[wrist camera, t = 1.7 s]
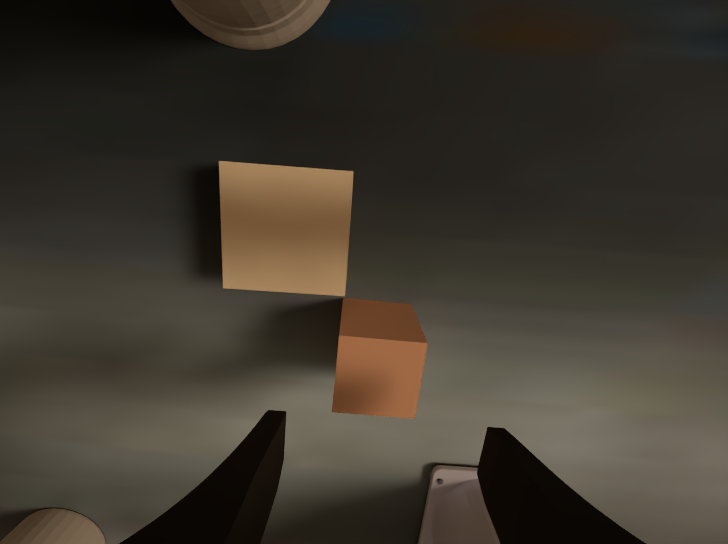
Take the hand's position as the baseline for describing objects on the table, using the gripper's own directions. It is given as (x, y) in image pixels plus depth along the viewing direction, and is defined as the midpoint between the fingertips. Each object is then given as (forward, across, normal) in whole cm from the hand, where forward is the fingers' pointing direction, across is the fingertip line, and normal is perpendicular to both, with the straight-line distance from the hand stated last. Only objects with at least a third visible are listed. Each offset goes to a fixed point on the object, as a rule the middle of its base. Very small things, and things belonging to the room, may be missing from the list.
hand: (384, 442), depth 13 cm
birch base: (+9, +5, -6) cm, 12 cm away
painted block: (+9, 0, 0) cm, 9 cm away
